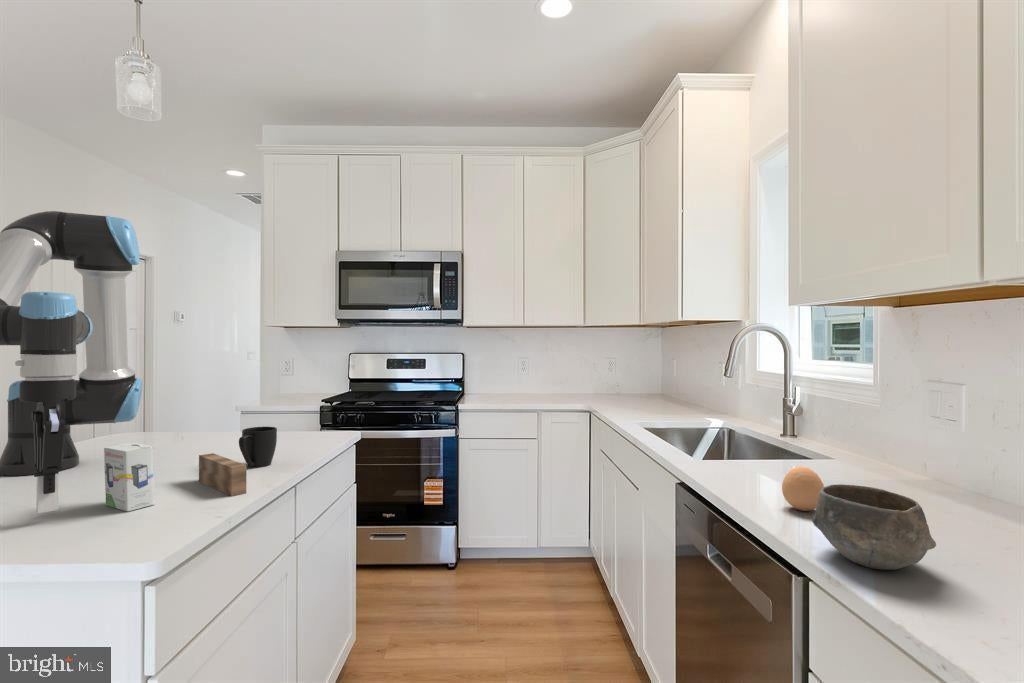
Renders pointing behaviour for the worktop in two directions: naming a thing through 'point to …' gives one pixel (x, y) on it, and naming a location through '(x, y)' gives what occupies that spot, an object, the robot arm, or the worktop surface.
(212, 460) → the wooden block
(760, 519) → the worktop surface
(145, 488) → the ink box
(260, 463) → the mug
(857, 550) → the bowl
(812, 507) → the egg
